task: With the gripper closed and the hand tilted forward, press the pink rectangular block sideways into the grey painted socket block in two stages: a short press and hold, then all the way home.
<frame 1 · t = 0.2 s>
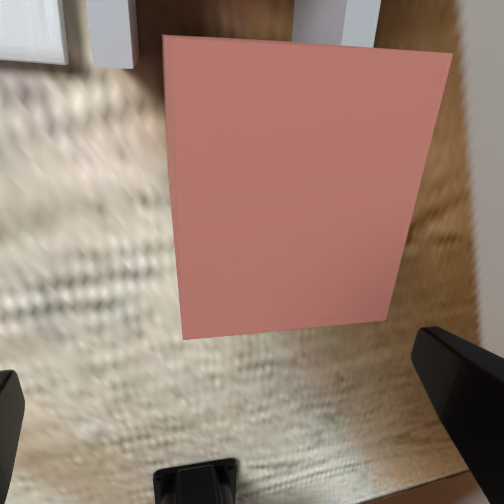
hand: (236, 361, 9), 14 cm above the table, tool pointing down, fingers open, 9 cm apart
pink rectangular block: (243, 148, 14), point 7 cm above the table, slide at 0.0 cm
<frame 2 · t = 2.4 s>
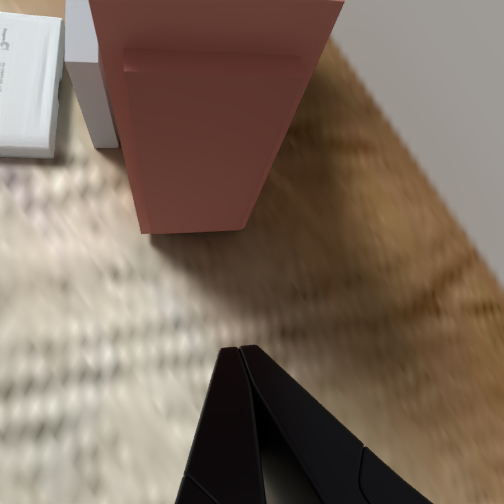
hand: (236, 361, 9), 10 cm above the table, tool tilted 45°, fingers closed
pink rectangular block: (196, 97, 15), point 7 cm above the table, slide at 0.0 cm
socket block: (179, 57, 24), on the table
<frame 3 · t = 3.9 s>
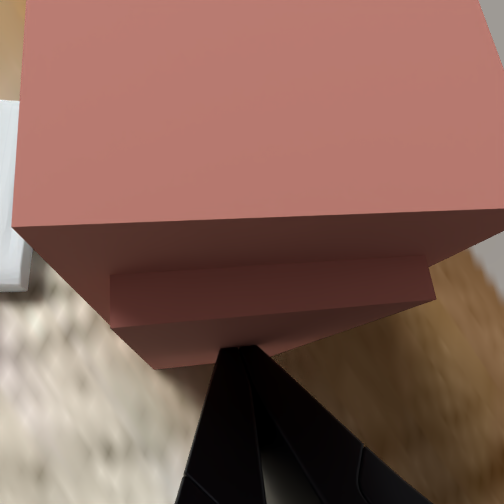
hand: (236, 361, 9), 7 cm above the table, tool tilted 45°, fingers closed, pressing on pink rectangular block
pink rectangular block: (219, 219, 10), point 7 cm above the table, slide at 1.4 cm, touching gripper
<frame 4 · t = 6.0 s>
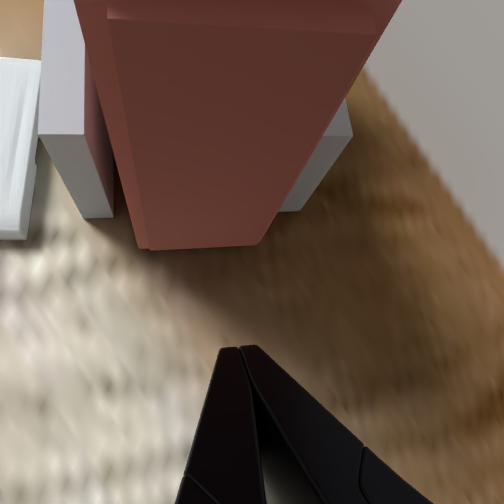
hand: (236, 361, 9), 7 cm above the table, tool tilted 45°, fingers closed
pink rectangular block: (207, 81, 12), point 7 cm above the table, slide at 3.4 cm
socket block: (188, 99, 20), on the table
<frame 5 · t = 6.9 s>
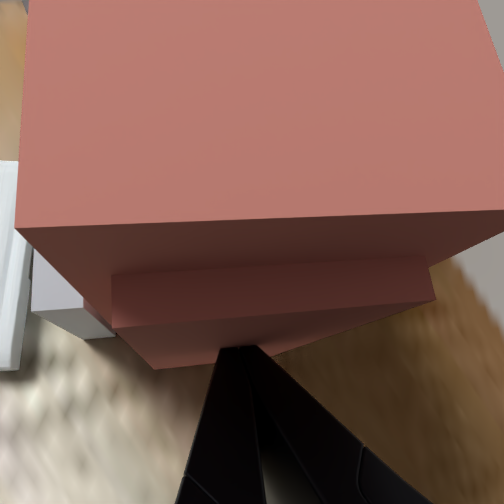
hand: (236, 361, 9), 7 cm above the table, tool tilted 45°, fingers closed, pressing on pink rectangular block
pink rectangular block: (219, 220, 10), point 7 cm above the table, slide at 4.1 cm, touching gripper
socket block: (195, 194, 18), on the table
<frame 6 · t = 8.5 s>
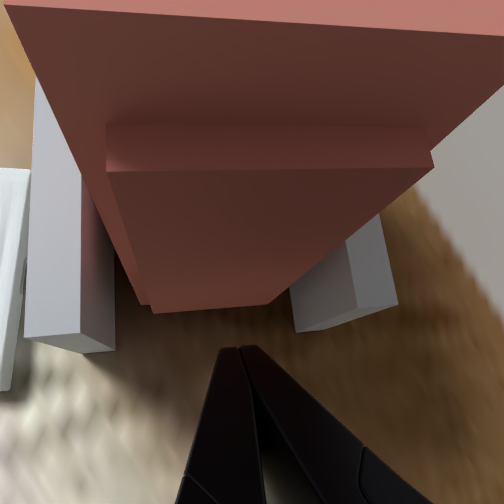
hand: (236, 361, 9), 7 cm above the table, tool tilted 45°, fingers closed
pink rectangular block: (217, 149, 10), point 7 cm above the table, slide at 6.5 cm
socket block: (198, 199, 17), on the table
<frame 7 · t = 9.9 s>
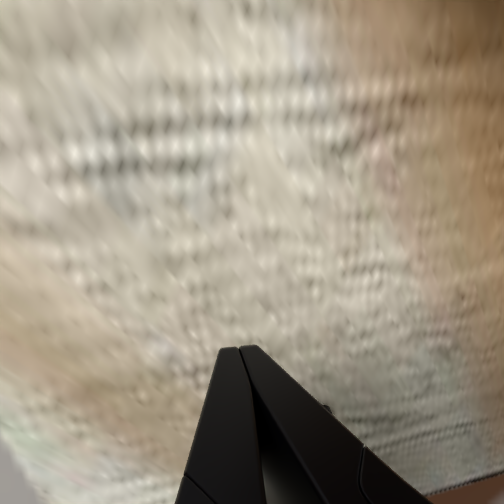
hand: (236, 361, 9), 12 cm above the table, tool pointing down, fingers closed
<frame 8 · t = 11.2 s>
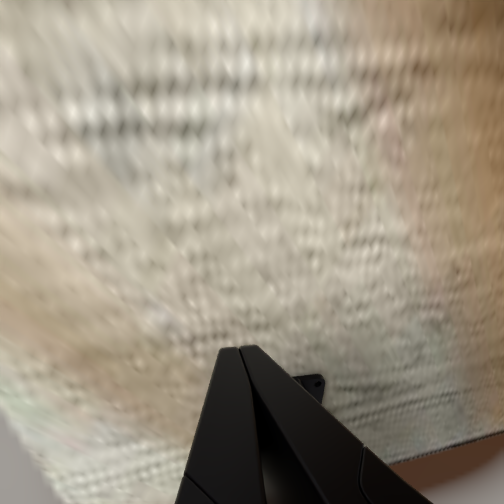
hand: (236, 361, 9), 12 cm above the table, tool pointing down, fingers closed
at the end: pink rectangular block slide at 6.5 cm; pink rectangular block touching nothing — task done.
